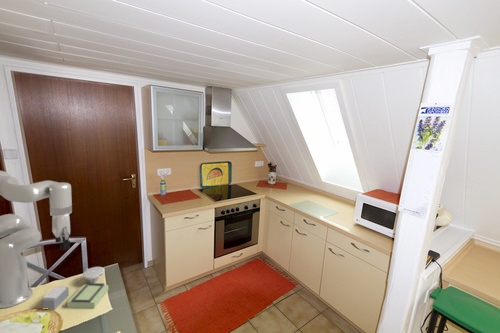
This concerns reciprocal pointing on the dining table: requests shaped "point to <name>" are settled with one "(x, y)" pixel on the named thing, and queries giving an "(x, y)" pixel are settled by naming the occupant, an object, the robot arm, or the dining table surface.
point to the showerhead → (93, 274)
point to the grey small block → (55, 297)
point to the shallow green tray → (88, 296)
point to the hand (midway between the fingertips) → (62, 245)
